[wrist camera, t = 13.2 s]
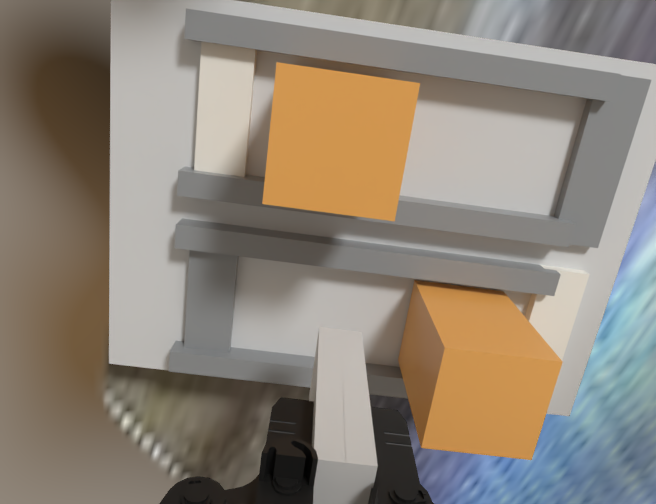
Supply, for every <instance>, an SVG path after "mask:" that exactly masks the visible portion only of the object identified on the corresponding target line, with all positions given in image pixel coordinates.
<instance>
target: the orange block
mask: <svg viewBox="0 0 656 504" xmlns="http://www.w3.org/2000/svg"><path fill="white" fill-rule="evenodd" d="M419 87H420V83H416V82H409V81H402V80H395V79H388V78H382V77H375V76H368V75H361V74H354V73H347V72H341V71H334V70H327V69H320V68H313V67H306V66H300V65H293V64H286V63H279V62H276V72H275V82H274V92H273V102H272V112H271V122H270V132H269V142H268V152H267V162H266V172H265V182H264V192H263V202H262V204H266V205H274V206H282V207H289V208H297V209H304V210H312V211H319V212H327V213H335V214H342V215H350V216H357V217H365V218H372V219H380V220H388V221H395V217H396V212H397V206H398V201H399V195H400V190H401V185H402V179H403V174H404V168H405V163H406V158H407V152H408V147H409V141H410V136H411V131H412V125H413V120H414V114H415V109H416V104H417V98H418V93H419Z"/></svg>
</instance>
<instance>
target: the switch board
mask: <svg viewBox="0 0 656 504" xmlns="http://www.w3.org/2000/svg"><path fill="white" fill-rule="evenodd" d="M276 62H279V63H286V64H293V65H300V66H306V67H313V68H320V69H327V70H334V71H341V72H347V73H354V74H361V75H368V76H375V77H382V78H388V79H395V80H402V81H409V82H416V83H420V87H419V93H418V98H417V104H416V109H415V114H414V120H413V125H412V131H411V136H410V141H409V147H408V152H407V158H406V163H405V168H404V174H403V179H402V185H401V190H400V195H399V201H398V206H397V212H396V217H395V221H388V220H380V219H372V218H365V217H357V216H350V215H342V214H335V213H327V212H319V211H312V210H304V209H297V208H289V207H282V206H274V205H266V204H262V202H263V192H264V182H265V172H266V162H267V152H268V142H269V132H270V122H271V112H272V102H273V92H274V82H275V72H276ZM110 66H111V68H110V73H111V74H110V259H109V260H110V261H109V265H110V266H109V271H110V272H109V364H117V365H126V366H134V367H143V368H152V369H161V370H169V371H170V372H178V373H187V374H196V375H205V376H213V377H222V378H231V379H240V380H248V381H257V382H266V383H275V384H283V385H292V386H301V387H310V386H311V379H312V372H313V366H314V359H315V352H316V345H317V339H318V332H319V327H327V328H335V329H343V330H351V331H359V332H362V339H363V348H364V356H365V364H366V373H367V381H368V389H369V394H371V395H380V396H389V397H397V398H406V399H408V396H407V392H406V388H405V385H404V381H403V377H402V373H401V369H400V366H399V362H398V358H399V353H400V348H401V343H402V338H403V333H404V328H405V323H406V319H407V314H408V309H409V304H410V299H411V294H412V289H413V284H414V280H418V281H426V282H434V283H442V284H450V285H458V286H466V287H474V288H481V289H489V290H497V291H504V292H505V294H506V295H507V296H508V297H509V298H510V300H511V301H512V302H513V303H514V304H515V306H516V307H517V308H518V309H519V310H520V312H521V313H522V314H523V315H524V316H525V317H526V319H527V320H528V321H529V322H530V323H531V325H532V326H533V327H534V328H535V329H536V331H537V332H538V333H539V334H540V335H541V337H542V338H543V339H544V340H545V341H546V342H547V344H548V345H549V346H550V347H551V348H552V350H553V351H554V352H555V353H556V354H557V356H558V357H559V358H560V359H561V360H562V362H563V363H562V366H561V369H560V372H559V375H558V379H557V382H556V385H555V388H554V391H553V394H552V397H551V400H550V404H549V407H548V410H547V413H546V414H554V415H563V416H570V413H571V410H572V407H573V404H574V401H575V398H576V395H577V392H578V389H579V386H580V383H581V380H582V377H583V374H584V371H585V368H586V365H587V362H588V359H589V356H590V353H591V350H592V347H593V344H594V341H595V338H596V335H597V332H598V330H599V327H600V324H601V321H602V318H603V315H604V312H605V309H606V306H607V303H608V300H609V297H610V294H611V291H612V288H613V285H614V282H615V279H616V276H617V273H618V270H619V267H620V264H621V261H622V258H623V255H624V252H625V249H626V246H627V243H628V240H629V237H630V235H631V232H632V229H633V226H634V223H635V220H636V217H637V214H638V211H639V208H640V205H641V202H642V199H643V196H644V193H645V190H646V187H647V184H648V181H649V178H650V175H651V172H652V169H653V166H654V163H655V160H656V64H650V63H643V62H636V61H630V60H623V59H617V58H610V57H604V56H597V55H590V54H584V53H577V52H571V51H564V50H558V49H551V48H544V47H538V46H531V45H525V44H518V43H512V42H505V41H498V40H492V39H485V38H479V37H472V36H466V35H459V34H452V33H446V32H439V31H433V30H426V29H420V28H413V27H406V26H400V25H393V24H387V23H380V22H374V21H367V20H360V19H354V18H347V17H341V16H334V15H328V14H321V13H314V12H308V11H301V10H295V9H288V8H282V7H275V6H268V5H262V4H255V3H249V2H242V1H236V0H111V65H110Z"/></svg>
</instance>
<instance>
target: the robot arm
mask: <svg viewBox="0 0 656 504" xmlns="http://www.w3.org/2000/svg"><path fill="white" fill-rule="evenodd" d="M160 504H434V503H433V502H432V500H431V498H430V496H429V494H428V492H427V491H426V490H425V489H424V488H423V486H422V485H421V484H420V482H419V478H418V473H417V468H416V464H415V459H414V455H413V450H412V447H411V441H410V437H409V431H408V427H407V422H406V421H405V419H404V418H403V417H402V416H401V414H400V413H399V412H398V410H391V409H383V408H375V407H371V406H370V398H369V389H368V381H367V373H366V364H365V356H364V348H363V339H362V332H359V331H351V330H343V329H335V328H327V327H319V332H318V339H317V345H316V352H315V359H314V366H313V372H312V379H311V386H310V393H309V401H306V400H298V399H289V398H280V399H279V400H278V401H277V403H276V404H275V405H274V406H273V407H272V412H271V417H270V423H269V429H268V435H267V441H266V445H265V447H264V449H263V451H262V456H261V465H260V473H259V475H258V476H257V478H256V479H254V480H253V481H252V482H251V483H249V484H247V485H245V486H243V487H239V488H235V489H229V490H224V489H223V488H222V486H221V485H220V484H219V483H218V482H216V481H214V480H212V479H210V478H205V477H192V478H186V479H184V480H182V481H180V482H178V483H176V484H175V485H174V486H173V487H172V488H171V489H170V490H169V491H168V493H167V494H166V495H165V497H164V498H163V500H162V501H161V502H160Z"/></svg>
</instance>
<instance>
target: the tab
mask: <svg viewBox="0 0 656 504" xmlns="http://www.w3.org/2000/svg"><path fill="white" fill-rule="evenodd" d="M398 362H399V366H400V369H401V373H402V377H403V381H404V385H405V388H406V392H407V396H408V400H409V403H410V407H411V411H412V415H413V419H414V422H415V426H416V430H417V434H418V438H419V441H420V445H421V448H427V449H436V450H445V451H454V452H463V453H472V454H482V455H491V456H500V457H509V458H518V459H527V460H532V457H533V454H534V451H535V447H536V444H537V441H538V438H539V435H540V432H541V429H542V426H543V422H544V419H545V416H546V413H547V410H548V407H549V404H550V400H551V397H552V394H553V391H554V388H555V385H556V382H557V379H558V375H559V372H560V369H561V366H562V363H563V362H562V360H561V359H560V358H559V357H558V356H557V354H556V353H555V352H554V351H553V350H552V348H551V347H550V346H549V345H548V344H547V342H546V341H545V340H544V339H543V338H542V337H541V335H540V334H539V333H538V332H537V331H536V329H535V328H534V327H533V326H532V325H531V323H530V322H529V321H528V320H527V319H526V317H525V316H524V315H523V314H522V313H521V312H520V310H519V309H518V308H517V307H516V306H515V304H514V303H513V302H512V301H511V300H510V298H509V297H508V296H507V295H506V294H505V292H504V291H497V290H489V289H481V288H474V287H466V286H458V285H450V284H442V283H434V282H426V281H418V280H414V284H413V289H412V294H411V299H410V304H409V309H408V314H407V319H406V323H405V328H404V333H403V338H402V343H401V348H400V353H399V358H398Z"/></svg>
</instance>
